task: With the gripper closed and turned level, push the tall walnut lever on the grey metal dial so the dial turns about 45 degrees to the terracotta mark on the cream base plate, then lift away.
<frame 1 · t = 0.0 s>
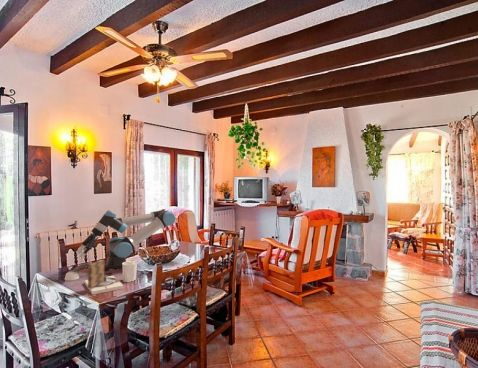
hand: (79, 255, 204), 15 cm above the table, tool tilted 35°, fingers open, 13 cm apart
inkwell: (79, 277, 203), on the table
dial lever: (100, 272, 184), point 10 cm above the table, hinge at 0.0°
dial plate: (103, 285, 187), on the table
candle holder: (129, 280, 199), on the table
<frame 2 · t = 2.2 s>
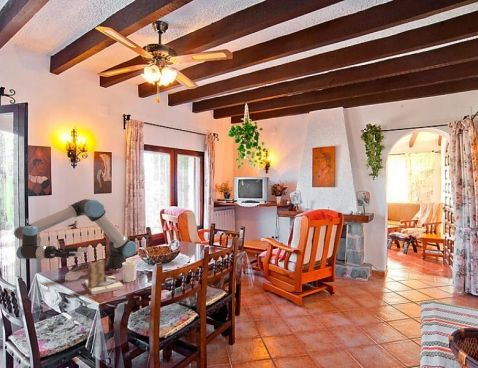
hand: (85, 251, 178), 24 cm above the table, tool horizontal, fingers open, 11 cm apart
nothing on the table moved.
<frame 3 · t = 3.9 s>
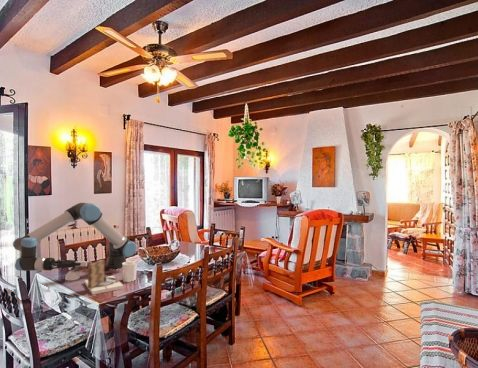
hand: (86, 263, 178), 17 cm above the table, tool horizontal, fingers closed
nothing on the table moved.
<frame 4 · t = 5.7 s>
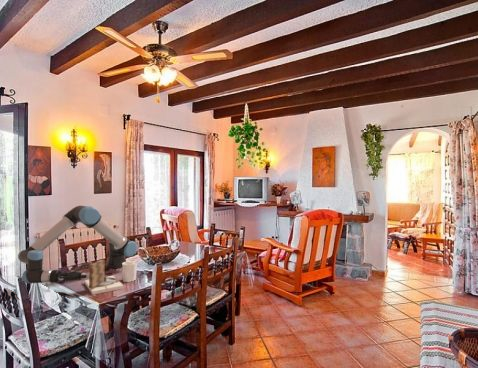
hand: (92, 275, 178), 9 cm above the table, tool horizontal, fingers closed
dial lever: (101, 272, 184), point 10 cm above the table, hinge at 3.6°, touching gripper
everything else where it was.
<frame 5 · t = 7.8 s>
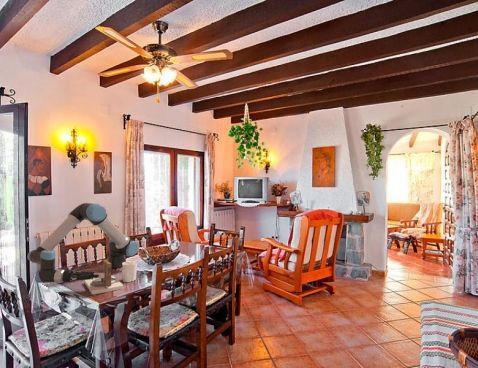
hand: (104, 275, 180), 9 cm above the table, tool horizontal, fingers closed
dial lever: (105, 272, 185), point 10 cm above the table, hinge at 51.2°, touching gripper
everything else where it was.
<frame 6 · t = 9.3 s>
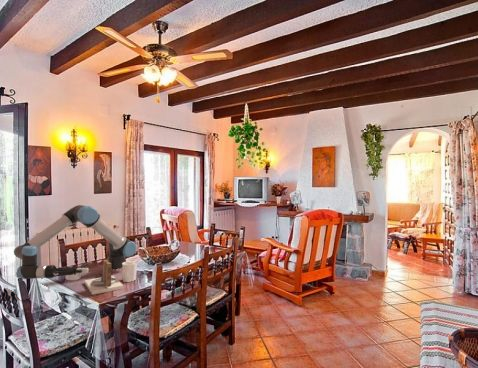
hand: (87, 270, 179), 12 cm above the table, tool horizontal, fingers closed
dial lever: (105, 272, 185), point 10 cm above the table, hinge at 51.2°
everything else where it was.
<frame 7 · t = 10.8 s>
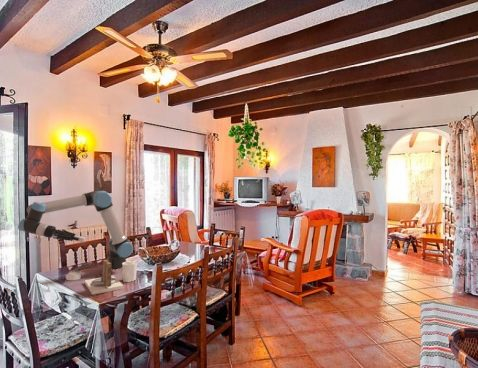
hand: (84, 240, 189), 29 cm above the table, tool tilted 75°, fingers closed
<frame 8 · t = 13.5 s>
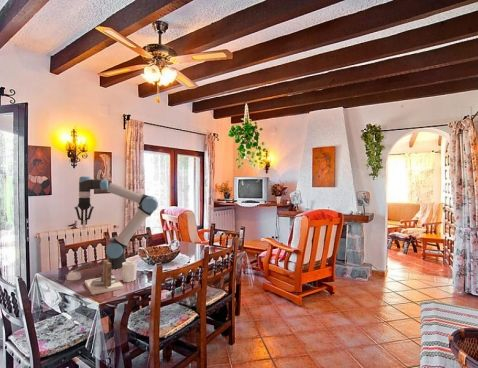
hand: (83, 229, 213), 32 cm above the table, tool pointing down, fingers closed
at the end: dial lever at +51° (first picture: +0°); candle holder moved 0.2 cm from its start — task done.
